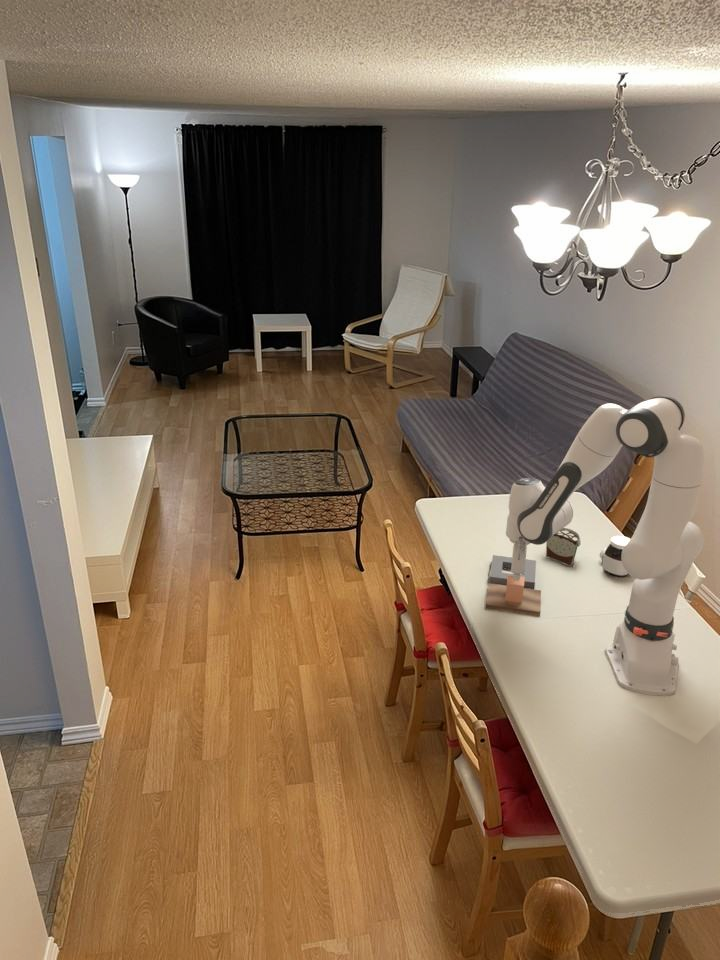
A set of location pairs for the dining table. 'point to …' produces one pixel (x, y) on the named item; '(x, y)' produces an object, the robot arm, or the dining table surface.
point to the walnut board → (528, 605)
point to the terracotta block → (514, 589)
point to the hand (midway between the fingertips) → (517, 571)
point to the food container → (563, 546)
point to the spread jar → (614, 557)
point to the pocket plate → (501, 578)
